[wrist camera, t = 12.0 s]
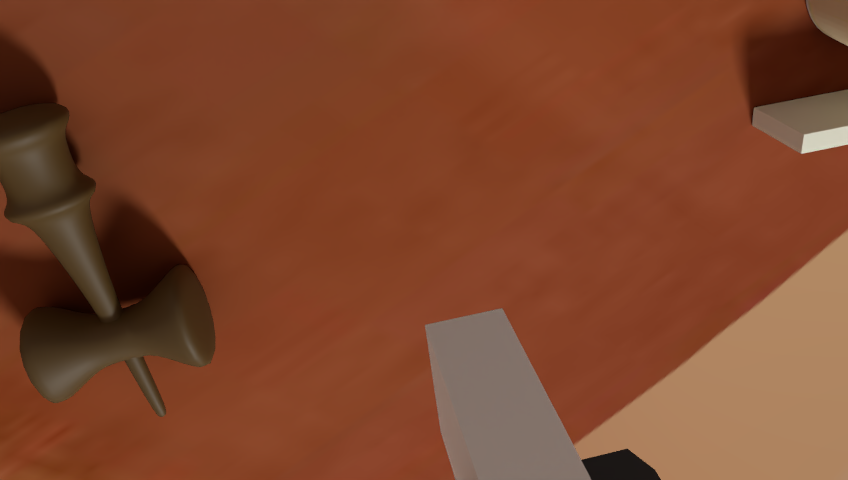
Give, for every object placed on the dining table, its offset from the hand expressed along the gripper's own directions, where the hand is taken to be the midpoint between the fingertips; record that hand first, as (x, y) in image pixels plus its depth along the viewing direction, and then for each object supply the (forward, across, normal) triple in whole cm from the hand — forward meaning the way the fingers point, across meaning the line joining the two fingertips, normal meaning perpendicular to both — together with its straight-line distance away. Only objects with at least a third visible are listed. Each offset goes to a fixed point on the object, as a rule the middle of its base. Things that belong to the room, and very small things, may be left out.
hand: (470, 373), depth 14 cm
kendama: (+30, -16, -11) cm, 35 cm away
